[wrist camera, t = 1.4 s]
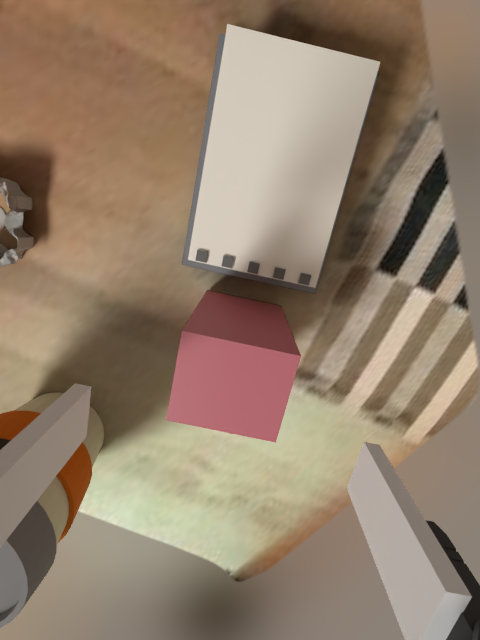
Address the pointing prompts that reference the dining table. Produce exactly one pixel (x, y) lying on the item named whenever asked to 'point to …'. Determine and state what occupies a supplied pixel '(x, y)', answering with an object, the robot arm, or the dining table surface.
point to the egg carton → (14, 221)
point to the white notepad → (275, 157)
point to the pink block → (234, 367)
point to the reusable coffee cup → (43, 510)
